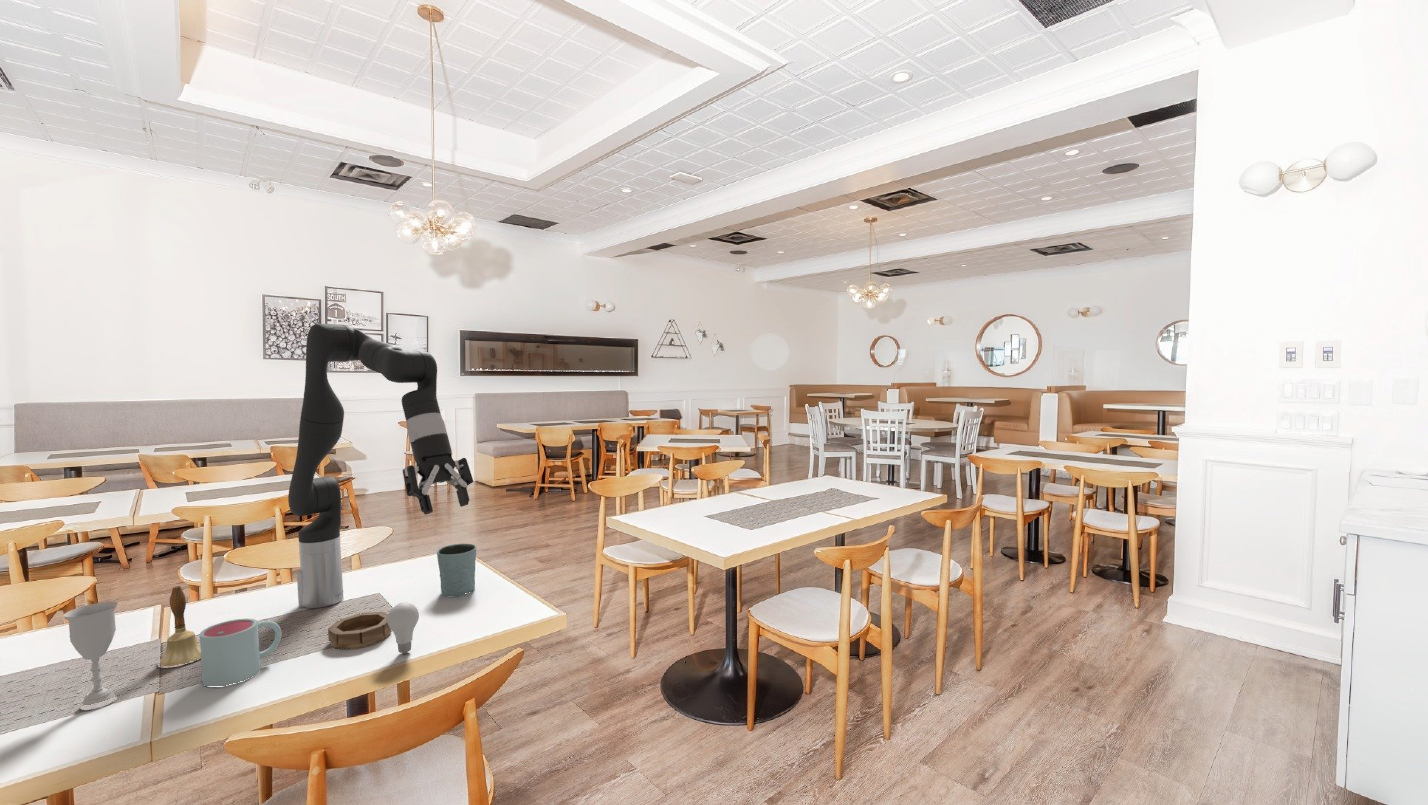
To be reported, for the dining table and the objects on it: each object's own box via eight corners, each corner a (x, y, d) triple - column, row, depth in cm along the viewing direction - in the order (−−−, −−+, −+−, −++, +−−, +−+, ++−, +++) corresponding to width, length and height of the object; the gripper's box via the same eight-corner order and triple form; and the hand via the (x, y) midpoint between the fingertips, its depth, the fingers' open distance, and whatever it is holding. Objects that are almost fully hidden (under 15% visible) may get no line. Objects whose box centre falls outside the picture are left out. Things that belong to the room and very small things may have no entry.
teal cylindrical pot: (465, 582, 177) (463, 541, 176) (485, 589, 171) (484, 546, 170) (431, 593, 168) (429, 550, 168) (451, 601, 162) (449, 556, 162)
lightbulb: (407, 661, 129) (405, 610, 128) (382, 658, 130) (379, 608, 130) (426, 648, 135) (424, 599, 134) (402, 645, 136) (400, 597, 136)
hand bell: (151, 672, 126) (145, 596, 125) (164, 656, 134) (159, 584, 133) (202, 663, 130) (197, 589, 129) (212, 647, 137) (207, 577, 136)
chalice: (97, 694, 118) (89, 602, 117) (135, 691, 118) (128, 600, 117) (60, 715, 111) (51, 618, 110) (100, 713, 111) (92, 616, 110)
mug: (214, 692, 118) (210, 642, 117) (195, 680, 123) (191, 631, 122) (293, 662, 129) (290, 616, 129) (273, 652, 134) (270, 607, 134)
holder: (320, 651, 134) (319, 635, 134) (345, 628, 146) (345, 614, 146) (378, 647, 136) (377, 631, 136) (399, 624, 148) (398, 610, 147)
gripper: (448, 439, 141) (465, 507, 139) (387, 446, 129) (405, 520, 127) (467, 429, 137) (485, 499, 135) (406, 435, 125) (426, 511, 123)
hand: (447, 509), depth 131 cm, fingers open, 8 cm apart
